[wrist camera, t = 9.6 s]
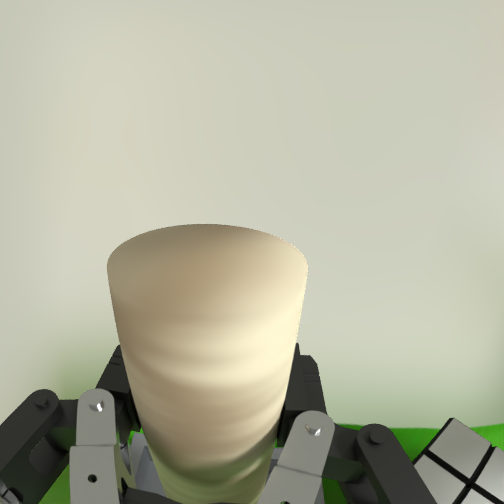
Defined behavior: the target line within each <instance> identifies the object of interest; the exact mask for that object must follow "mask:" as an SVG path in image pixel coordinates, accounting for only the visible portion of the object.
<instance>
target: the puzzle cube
mask: <svg viewBox="0 0 504 504" xmlns="http://www.w3.org/2000/svg"><path fill="white" fill-rule="evenodd" d="M412 464H413V465H414V467H415V469H416V470H417V472H418V473H419V475H420V476H421V478H422V480H423V481H424V483H425V484H426V486H427V488H428V489H429V491H430V493H431V494H432V496H433V497H434V499H435V501H436V502H437V504H504V451H503V450H501V449H500V448H498V447H497V446H495V447H492V444H491V442H489V441H488V440H486V439H485V438H483V437H482V436H480V435H479V434H477V433H476V432H474V431H473V430H471V429H470V428H468V427H467V426H466V425H464V424H463V423H461V422H460V421H458V420H456V419H455V418H449V420H448V421H447V422H446V423H445V425H444V426H443V427H442V428H441V430H440V431H439V432H438V433H437V434H436V436H435V437H434V438H433V439H432V440H431V442H430V443H429V444H428V445H427V446H426V447H425V448H424V450H423V451H422V452H421V453H420V454H419V455H418V456H417V457H416V458H415V459H414V460H413V462H412Z"/></svg>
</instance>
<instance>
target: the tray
mask: <svg viewBox="0 0 504 504" xmlns="http://www.w3.org/2000/svg"><path fill="white" fill-rule="evenodd" d="M130 451H131V459H132V466H133V473H134V479H135V483H136V487H137V489H138V490H143V491H148V492H152V493H157V494H160V495H162V496H164V497H167V496H166V494H165V491H164V489H163V486H162V484H161V481H160V478H159V476H158V473H157V470H156V468H155V465H154V462H153V459H152V457H151V454H150V451H149V448H148V445H147V442H146V439H145V436H144V434H140V433H134V436H133V439H132V442H131V445H130ZM282 451H283V448H274V450H273V454H272V458H271V462H270V467H269V471H268V475H267V479H266V483H267V481H268V479H269V477H270V475H271V472H272V470H273V468H274V466H275V465H276V464H277V462H278V460H279V458H280V455H281V453H282ZM266 483H265V485H266ZM264 488H265V486H264ZM314 504H325V503H324V494H323V486H322V480H321V484H320V487H319V490H318V493H317V496H316V499H315V502H314Z"/></svg>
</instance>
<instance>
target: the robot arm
mask: <svg viewBox="0 0 504 504" xmlns="http://www.w3.org/2000/svg"><path fill="white" fill-rule="evenodd" d="M140 429H141V423H140V420H139V416H138V413H137V410H136V406H135V403H134V399H133V395H132V392H131V388H130V384H129V380H128V376H127V372H126V368H125V364H124V360H123V355H122V351H121V346H120V345H118V346H117V347H116V349H115V351H114V353H113V356H112V357H111V359H110V361H109V364H107V366H106V368H105V370H104V372H103V374H102V376H101V378H100V380H99V382H98V384H97V386H96V388H95V389H91V390H88V391H86V392H85V393H83V394H82V395H81V396H80V398H79V399H76V400H59V399H58V397H57V395H56V394H55V393H54V392H53V391H51V390H47V389H42V390H37V391H35V392H33V393H32V394H31V395H30V396H28V397H27V399H26V400H25V401H24V402H23V403H22V404H21V405H20V406H19V407H18V408H17V409H16V410H15V411H14V412H13V413H12V414H11V415H10V416H9V417H8V418H7V419H6V420H5V421H4V422H3V423H2V424H1V425H0V504H38V503H39V502H40V500H41V499H42V498H43V496H44V495H45V494H46V492H47V491H48V490H49V488H50V487H51V486H52V485H53V483H54V482H55V481H56V479H57V478H58V477H59V475H60V474H61V473H62V471H63V470H64V469H65V467H66V466H67V465H68V464H69V462H70V501H71V504H182V503H179V502H177V501H174V500H172V499H169V498H167V497H164V496H162V495H160V494H157V493H152V492H148V491H143V490H138V489H137V487H136V483H135V479H134V473H133V466H132V459H131V451H130V443H129V439H128V438H129V435H130V432H131V430H132V431H137V432H140ZM43 437H44V438H43ZM42 438H43V439H42ZM37 444H38V445H37ZM36 445H37V446H36ZM277 447H284V448H283V451H282V453H281V455H280V458H279V460H278V462H277V464H276V465H275V466H274V468H273V470H272V472H271V475H270V477H269V479H268V481H267V483H266V485H265V488H264V490H263V492H262V494H261V496H260V498H259V500H258V502H257V504H314V502H315V499H316V496H317V493H318V490H319V487H320V484H321V480H322V477H324V478H328V479H333V480H337V481H338V483H339V486H340V488H341V490H342V492H343V494H344V496H345V498H346V501H347V503H348V504H437V502H436V501H435V499H434V497H433V496H432V494H431V493H430V491H429V489H428V488H427V486H426V484H425V483H424V481H423V480H422V478H421V476H420V475H419V473H418V472H417V470H416V469H415V467H414V465H413V464H412V462H411V461H410V459H409V457H408V456H407V454H406V453H405V451H404V450H403V448H402V446H401V445H400V443H399V442H398V440H397V439H396V437H395V435H394V434H393V432H392V431H391V430H390V429H389V428H387V427H385V426H383V425H380V424H369V425H366V426H364V427H362V428H361V429H360V431H358V430H353V429H349V428H344V427H341V426H339V425H337V424H335V423H334V422H333V420H332V419H331V418H330V417H329V416H328V415H327V412H326V407H325V401H324V397H323V391H322V386H321V381H320V376H319V371H318V367H317V363H316V362H315V361H314V359H313V358H312V357H311V356H310V355H308V356H307V355H300V351H299V344H298V343H296V345H295V350H294V356H293V361H292V366H291V371H290V376H289V381H288V386H287V391H286V396H285V401H284V405H283V410H282V415H281V419H280V424H279V428H278V433H277ZM31 451H32V452H31ZM211 504H238V503H224V502H219V503H211Z"/></svg>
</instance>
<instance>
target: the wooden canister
mask: <svg viewBox="0 0 504 504" xmlns="http://www.w3.org/2000/svg"><path fill="white" fill-rule="evenodd" d="M107 273H108V280H109V287H110V293H111V299H112V305H113V310H114V316H115V322H116V327H117V332H118V337H119V342H120V346H121V351H122V355H123V360H124V364H125V368H126V372H127V376H128V380H129V384H130V388H131V392H132V395H133V399H134V403H135V406H136V410H137V413H138V416H139V420H140V423H141V426H142V430H143V433H144V436H145V439H146V442H147V445H148V448H149V451H150V454H151V457H152V459H153V462H154V465H155V468H156V470H157V473H158V476H159V478H160V481H161V484H162V486H163V489H164V491H165V494H166V496H167V498H169V499H172V500H174V501H177V502H179V503H182V504H211V503H219V502H224V503H238V504H257V502H258V500H259V498H260V496H261V494H262V492H263V490H264V486H265V483H266V479H267V475H268V471H269V467H270V462H271V458H272V454H273V450H274V446H275V441H276V437H277V433H278V428H279V424H280V419H281V415H282V410H283V405H284V401H285V396H286V391H287V386H288V381H289V376H290V371H291V366H292V361H293V356H294V350H295V345H296V339H297V334H298V328H299V323H300V317H301V311H302V305H303V299H304V293H305V287H306V279H307V273H308V265H307V261H306V259H305V257H304V256H303V254H302V253H301V252H300V251H299V250H298V249H297V248H295V247H294V246H293V245H291V244H290V243H288V242H286V241H284V240H282V239H280V238H278V237H276V236H273V235H270V234H268V233H264V232H261V231H257V230H253V229H249V228H243V227H237V226H230V225H218V224H192V225H179V226H173V227H166V228H161V229H156V230H153V231H149V232H146V233H143V234H140V235H138V236H136V237H133V238H131V239H130V240H127V241H126V242H124V243H123V244H121V245H120V246H119V247H117V248H116V249H115V250H114V251H113V253H112V254H111V255H110V257H109V259H108V263H107Z"/></svg>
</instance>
